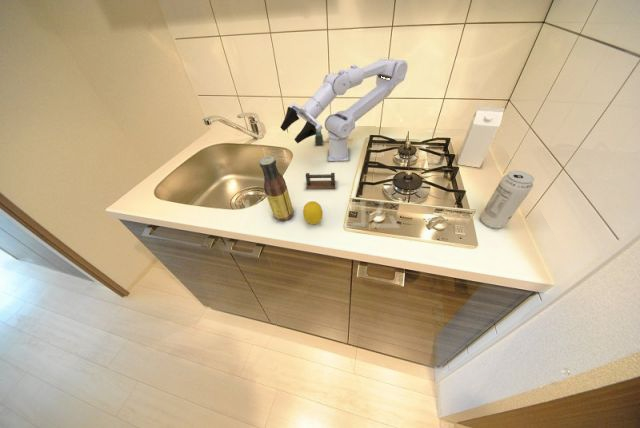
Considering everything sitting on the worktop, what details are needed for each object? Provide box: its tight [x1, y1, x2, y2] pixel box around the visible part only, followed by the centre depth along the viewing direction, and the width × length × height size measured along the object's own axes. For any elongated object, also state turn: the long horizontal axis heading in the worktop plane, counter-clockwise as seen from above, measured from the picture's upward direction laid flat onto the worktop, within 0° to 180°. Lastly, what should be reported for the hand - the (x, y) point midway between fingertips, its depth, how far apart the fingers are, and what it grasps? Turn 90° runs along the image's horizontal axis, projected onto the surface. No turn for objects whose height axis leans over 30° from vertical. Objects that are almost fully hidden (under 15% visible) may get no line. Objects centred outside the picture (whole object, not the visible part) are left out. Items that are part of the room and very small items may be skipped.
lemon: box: [302, 200, 324, 225], centre depth 64 cm, size 6×6×8 cm
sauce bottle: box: [258, 155, 294, 222], centre depth 64 cm, size 6×6×20 cm
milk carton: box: [457, 106, 506, 168], centre depth 77 cm, size 7×7×19 cm
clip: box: [314, 130, 324, 146], centre depth 100 cm, size 4×3×7 cm
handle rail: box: [305, 172, 336, 190], centre depth 78 cm, size 4×10×5 cm, turn 85°
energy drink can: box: [480, 170, 535, 230], centre depth 57 cm, size 6×6×15 cm
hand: (288, 135), depth 76 cm, fingers open, 7 cm apart
